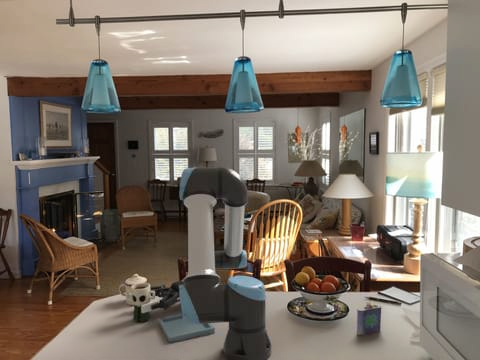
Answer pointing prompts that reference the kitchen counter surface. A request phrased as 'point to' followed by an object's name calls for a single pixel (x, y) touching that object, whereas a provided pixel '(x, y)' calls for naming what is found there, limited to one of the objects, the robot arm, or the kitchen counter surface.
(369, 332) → the flask
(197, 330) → the tray
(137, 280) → the teacup with lid
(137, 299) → the character mug
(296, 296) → the kitchen counter surface
